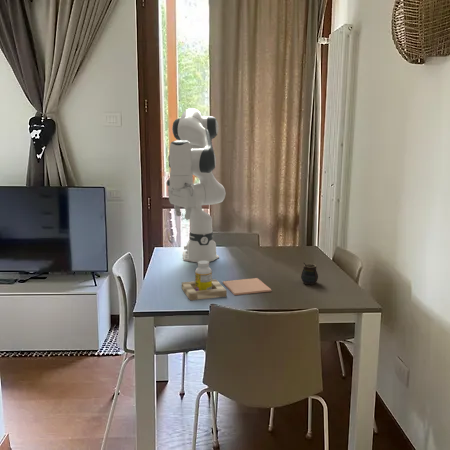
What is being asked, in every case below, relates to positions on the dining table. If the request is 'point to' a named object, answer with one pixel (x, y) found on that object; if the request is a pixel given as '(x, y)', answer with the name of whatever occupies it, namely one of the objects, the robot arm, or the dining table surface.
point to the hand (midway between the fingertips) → (183, 217)
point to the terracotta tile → (246, 286)
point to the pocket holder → (204, 291)
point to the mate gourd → (309, 274)
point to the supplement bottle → (203, 276)
